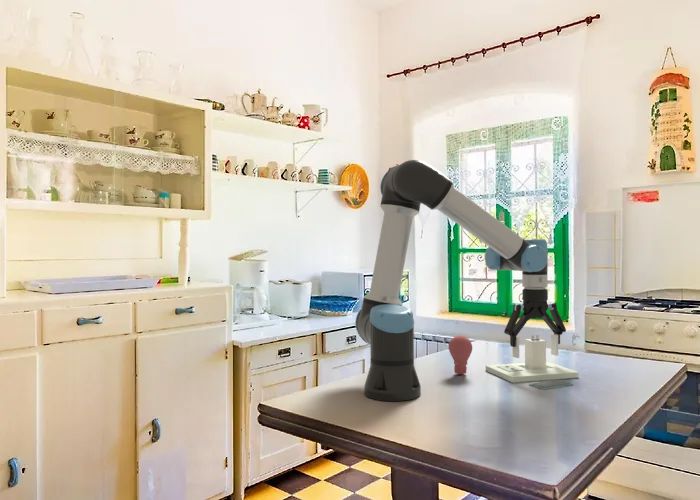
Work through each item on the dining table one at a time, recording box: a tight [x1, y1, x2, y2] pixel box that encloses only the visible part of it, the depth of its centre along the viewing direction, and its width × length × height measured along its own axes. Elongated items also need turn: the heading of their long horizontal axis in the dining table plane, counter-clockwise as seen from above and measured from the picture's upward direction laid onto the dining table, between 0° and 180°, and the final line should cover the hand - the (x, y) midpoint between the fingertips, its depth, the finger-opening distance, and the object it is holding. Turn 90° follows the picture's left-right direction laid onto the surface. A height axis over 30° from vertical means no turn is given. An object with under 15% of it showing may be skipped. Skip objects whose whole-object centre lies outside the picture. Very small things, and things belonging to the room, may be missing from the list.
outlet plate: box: [485, 360, 580, 384], centre depth 169 cm, size 22×16×2 cm
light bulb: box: [448, 335, 473, 376], centre depth 169 cm, size 7×7×12 cm
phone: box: [528, 379, 574, 391], centre depth 156 cm, size 11×6×1 cm, turn 115°
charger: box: [524, 334, 547, 370], centre depth 172 cm, size 4×4×12 cm
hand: (535, 356), depth 172 cm, fingers open, 13 cm apart
